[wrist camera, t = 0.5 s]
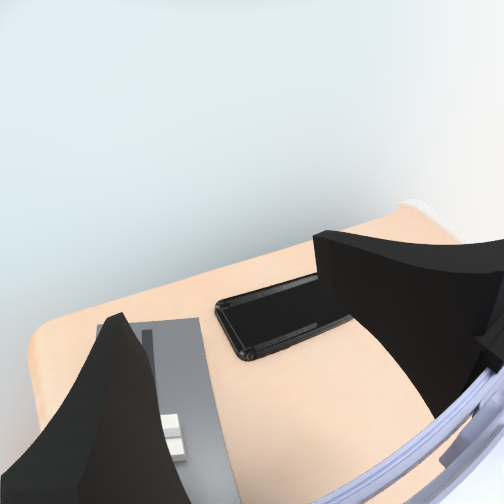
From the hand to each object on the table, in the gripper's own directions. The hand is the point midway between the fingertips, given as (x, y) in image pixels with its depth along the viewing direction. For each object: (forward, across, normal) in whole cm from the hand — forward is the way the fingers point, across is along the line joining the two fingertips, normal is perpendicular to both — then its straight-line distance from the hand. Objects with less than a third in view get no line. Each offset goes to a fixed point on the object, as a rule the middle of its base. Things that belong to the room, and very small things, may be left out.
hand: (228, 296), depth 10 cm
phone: (+16, -8, +17) cm, 24 cm away
